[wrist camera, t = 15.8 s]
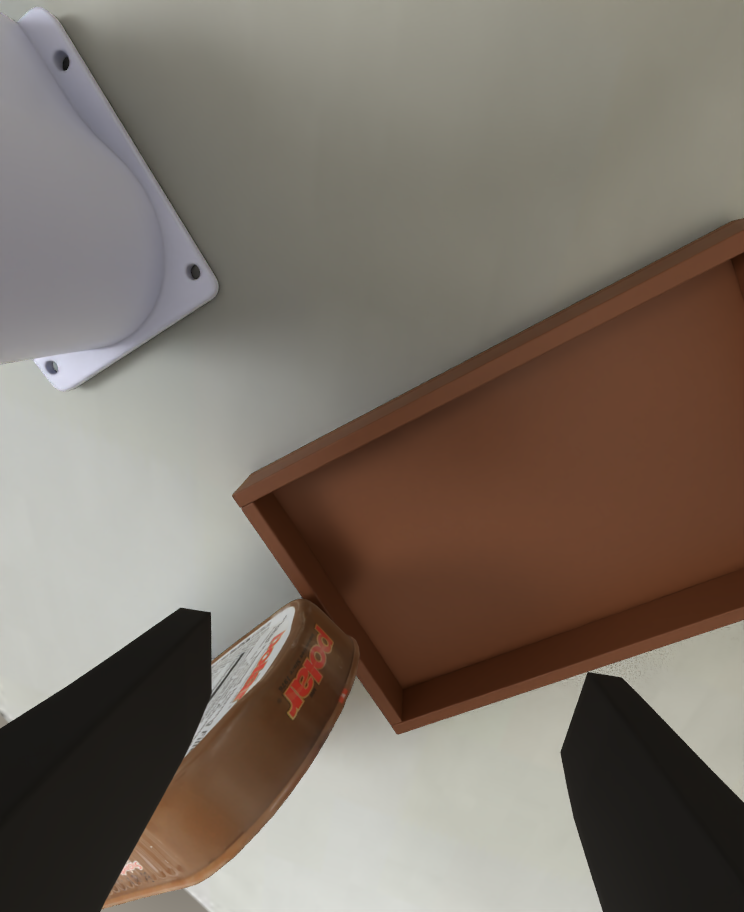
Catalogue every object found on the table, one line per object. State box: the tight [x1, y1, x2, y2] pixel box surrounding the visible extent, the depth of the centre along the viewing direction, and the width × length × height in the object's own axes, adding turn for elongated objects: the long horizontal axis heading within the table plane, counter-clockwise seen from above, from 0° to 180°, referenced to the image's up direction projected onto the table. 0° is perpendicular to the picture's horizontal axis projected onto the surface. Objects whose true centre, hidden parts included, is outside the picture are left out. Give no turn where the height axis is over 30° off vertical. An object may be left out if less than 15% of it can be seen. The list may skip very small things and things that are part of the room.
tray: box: [232, 218, 744, 734], centre depth 17 cm, size 13×19×2 cm
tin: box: [102, 599, 360, 909], centre depth 17 cm, size 15×3×8 cm, turn 136°
